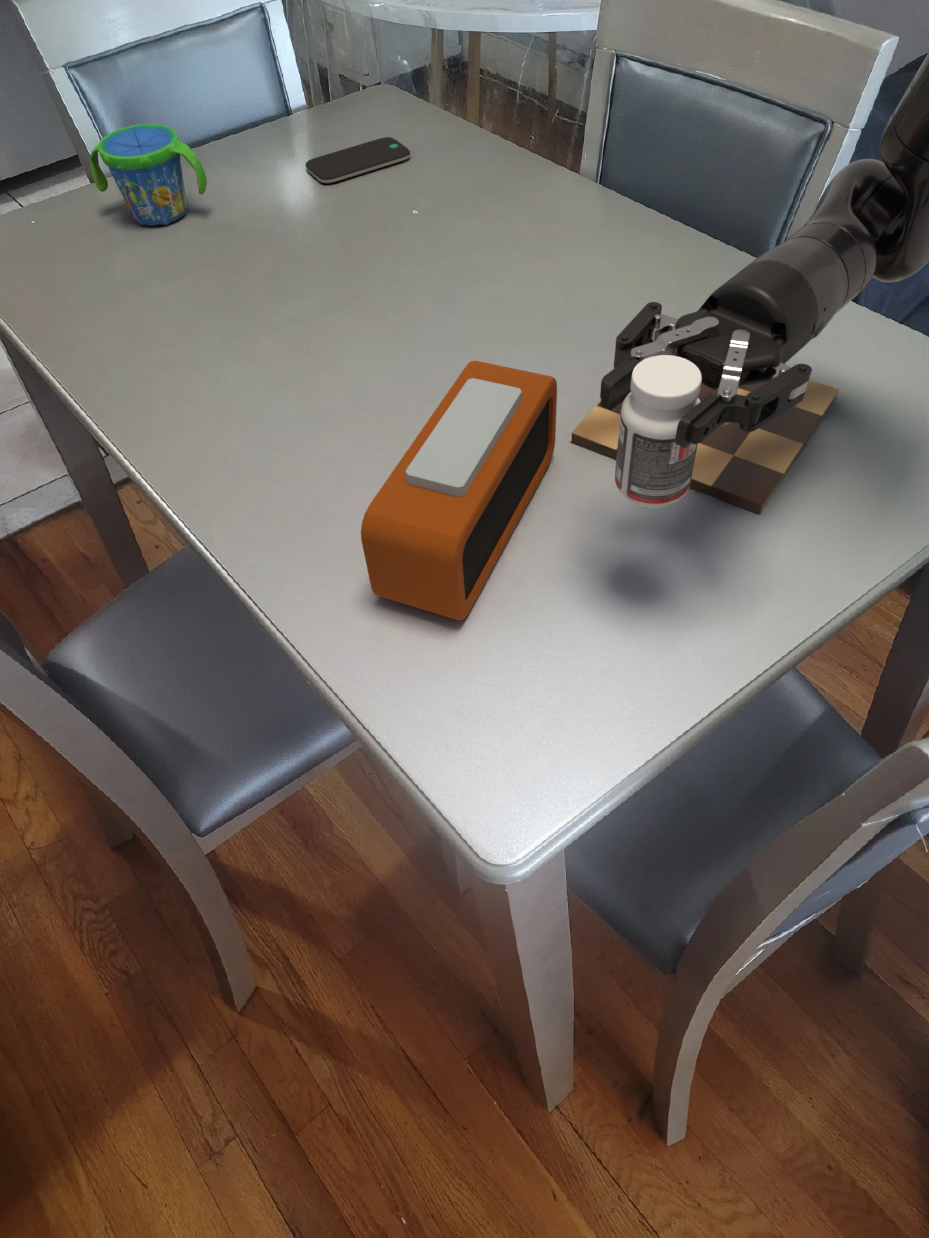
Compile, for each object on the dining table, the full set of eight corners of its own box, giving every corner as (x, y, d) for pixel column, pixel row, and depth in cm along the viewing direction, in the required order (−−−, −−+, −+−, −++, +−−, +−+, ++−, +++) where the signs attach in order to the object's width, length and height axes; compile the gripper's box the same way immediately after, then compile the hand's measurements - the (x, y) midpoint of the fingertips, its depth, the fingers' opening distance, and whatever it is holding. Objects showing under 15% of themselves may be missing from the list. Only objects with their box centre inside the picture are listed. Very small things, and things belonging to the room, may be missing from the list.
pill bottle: (705, 486, 66) (728, 377, 58) (652, 521, 64) (669, 413, 56) (650, 449, 69) (665, 340, 61) (598, 482, 67) (607, 373, 59)
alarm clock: (460, 631, 73) (452, 537, 64) (372, 604, 75) (352, 510, 66) (555, 454, 86) (559, 356, 78) (478, 436, 89) (474, 339, 80)
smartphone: (414, 152, 129) (322, 180, 124) (414, 158, 129) (324, 186, 125) (390, 135, 133) (301, 161, 129) (391, 140, 134) (302, 167, 129)
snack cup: (227, 201, 124) (207, 126, 116) (195, 238, 118) (171, 161, 110) (131, 194, 127) (105, 119, 119) (94, 229, 121) (64, 153, 113)
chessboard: (836, 398, 90) (839, 389, 89) (759, 515, 80) (762, 505, 79) (660, 342, 97) (661, 333, 96) (571, 442, 87) (571, 432, 86)
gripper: (701, 231, 66) (561, 330, 59) (878, 294, 60) (744, 415, 53) (687, 318, 72) (558, 418, 65) (847, 384, 66) (723, 504, 59)
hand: (642, 416), depth 59 cm, fingers closed on pill bottle, 5 cm apart
